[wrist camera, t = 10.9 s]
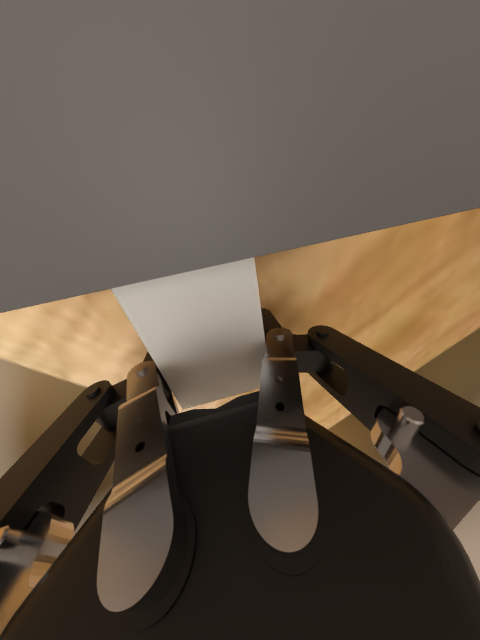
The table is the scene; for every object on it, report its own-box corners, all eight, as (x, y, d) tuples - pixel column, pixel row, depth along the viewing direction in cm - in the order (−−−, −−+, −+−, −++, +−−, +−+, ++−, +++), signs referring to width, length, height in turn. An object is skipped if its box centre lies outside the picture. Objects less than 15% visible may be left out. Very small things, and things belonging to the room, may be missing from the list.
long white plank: (26, -26, 5) (-617, -926, 1) (181, -43, 6) (115, -806, 2) (189, 350, 14) (182, 409, 9) (250, 335, 14) (271, 385, 10)
